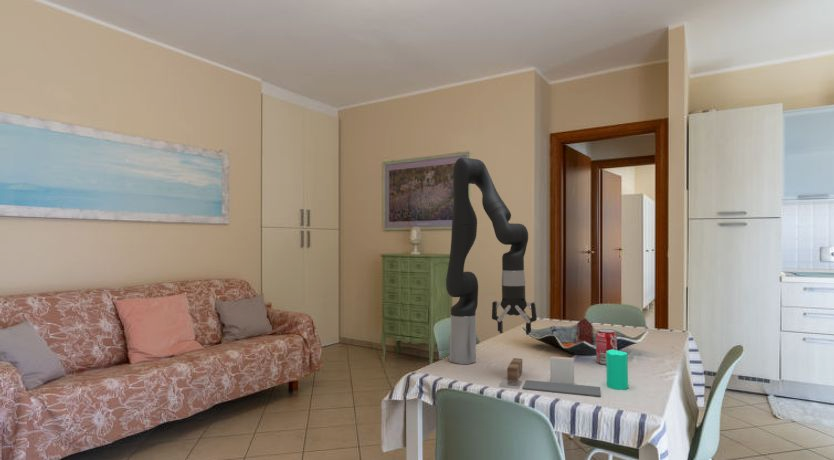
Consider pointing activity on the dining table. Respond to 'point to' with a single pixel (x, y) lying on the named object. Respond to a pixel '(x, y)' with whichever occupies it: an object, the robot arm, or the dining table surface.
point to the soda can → (605, 343)
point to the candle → (617, 369)
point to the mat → (562, 388)
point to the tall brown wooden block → (513, 375)
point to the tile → (562, 370)
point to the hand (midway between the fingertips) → (514, 333)
